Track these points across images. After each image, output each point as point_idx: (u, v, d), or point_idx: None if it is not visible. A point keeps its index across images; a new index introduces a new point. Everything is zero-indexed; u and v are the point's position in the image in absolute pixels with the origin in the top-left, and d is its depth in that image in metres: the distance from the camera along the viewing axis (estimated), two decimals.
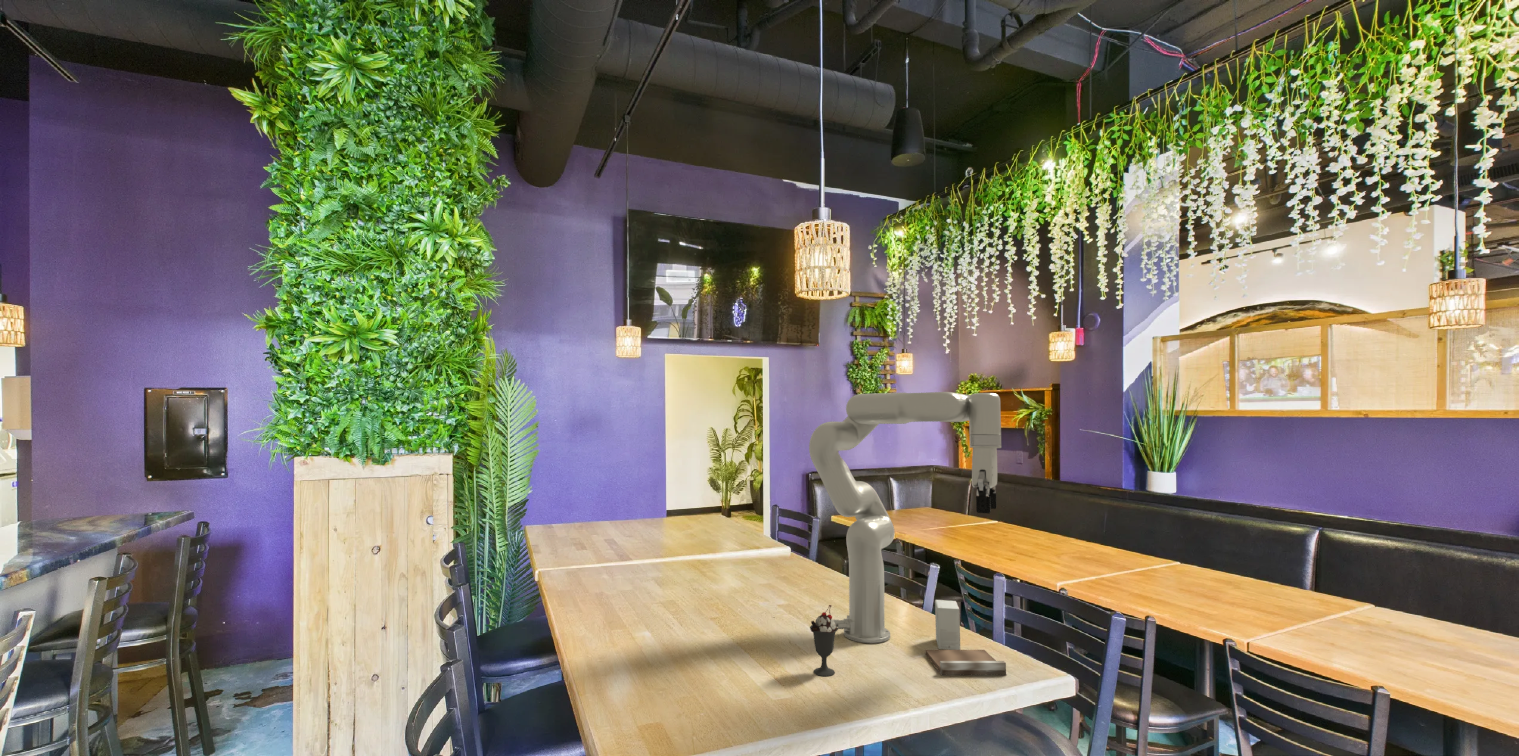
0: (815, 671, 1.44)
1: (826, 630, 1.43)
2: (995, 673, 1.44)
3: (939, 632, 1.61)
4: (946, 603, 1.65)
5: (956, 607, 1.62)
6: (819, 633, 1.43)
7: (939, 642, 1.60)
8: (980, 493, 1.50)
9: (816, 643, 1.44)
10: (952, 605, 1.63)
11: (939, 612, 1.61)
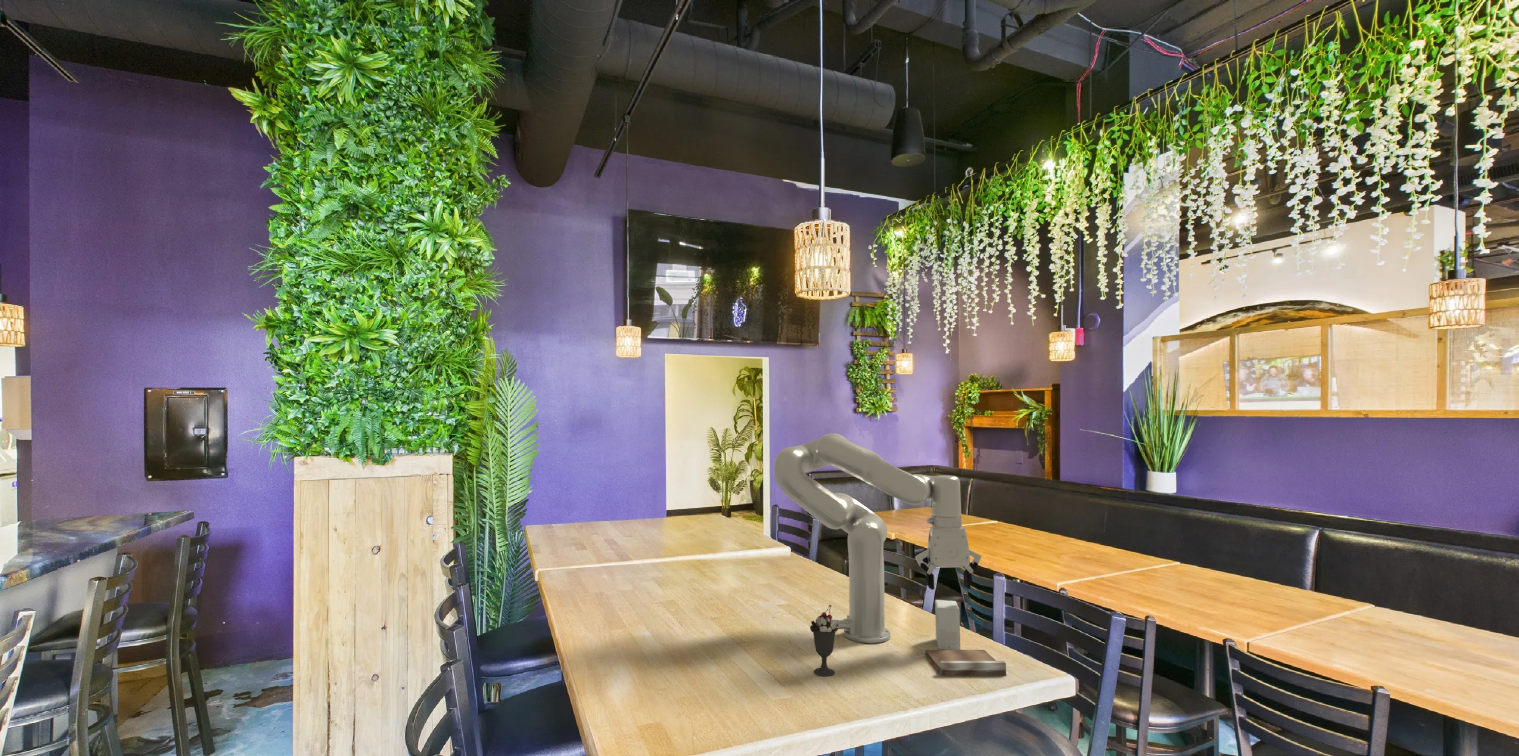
0: (815, 671, 1.44)
1: (826, 630, 1.43)
2: (995, 673, 1.44)
3: (939, 632, 1.61)
4: (946, 603, 1.65)
5: (956, 607, 1.62)
6: (819, 633, 1.43)
7: (939, 642, 1.60)
8: None
9: (816, 643, 1.44)
10: (952, 605, 1.63)
11: (939, 612, 1.61)
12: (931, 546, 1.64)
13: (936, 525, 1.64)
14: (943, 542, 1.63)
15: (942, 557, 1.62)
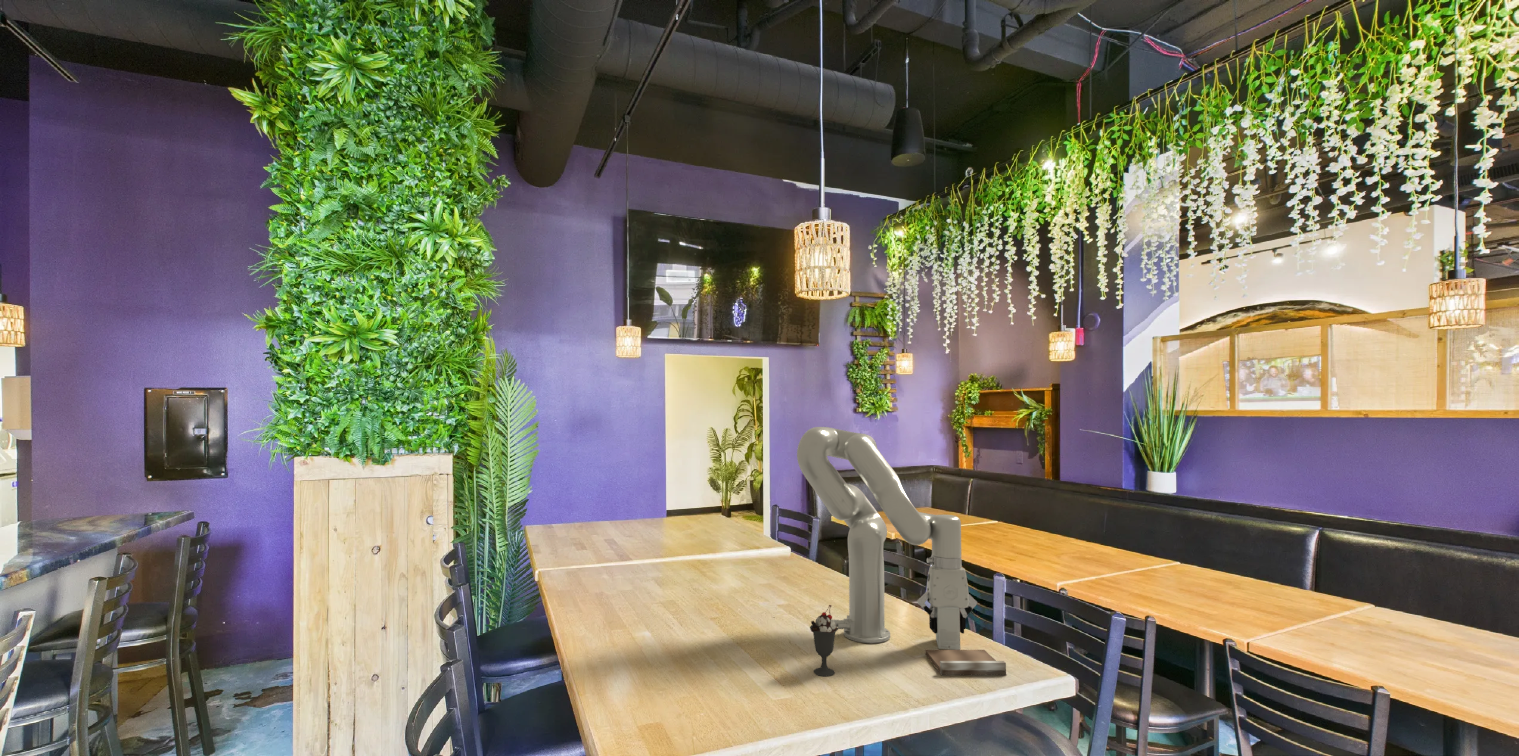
0: (815, 671, 1.44)
1: (826, 630, 1.43)
2: (995, 673, 1.44)
3: (939, 632, 1.61)
4: None
5: (956, 607, 1.62)
6: (819, 633, 1.43)
7: (939, 642, 1.60)
8: None
9: (816, 643, 1.44)
10: None
11: (939, 612, 1.61)
12: (930, 586, 1.63)
13: (936, 565, 1.63)
14: (942, 583, 1.62)
15: (941, 598, 1.62)
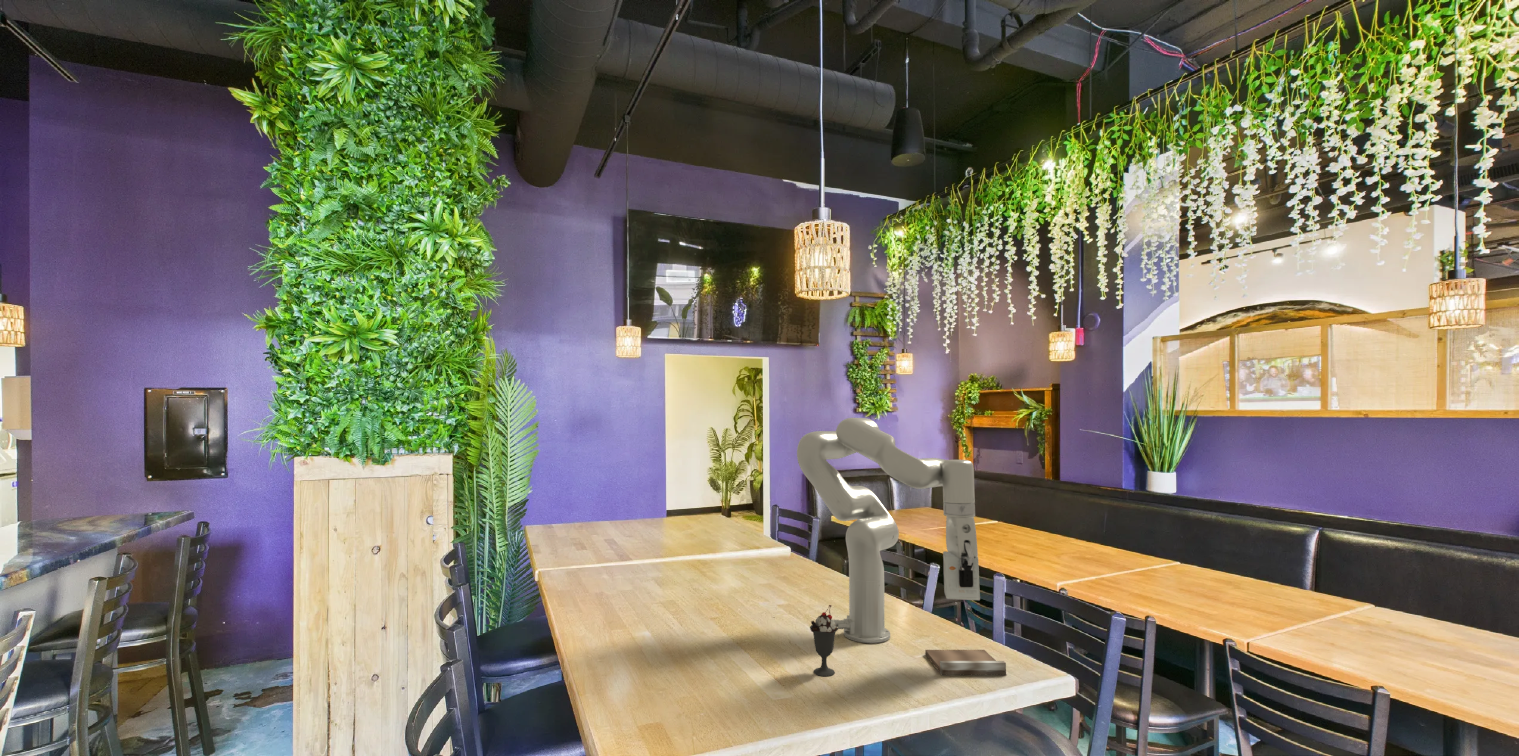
0: (815, 671, 1.44)
1: (826, 630, 1.43)
2: (995, 673, 1.44)
3: None
4: None
5: None
6: (819, 633, 1.43)
7: (979, 593, 1.50)
8: None
9: (816, 643, 1.44)
10: None
11: None
12: (973, 537, 1.50)
13: (970, 513, 1.52)
14: None
15: None
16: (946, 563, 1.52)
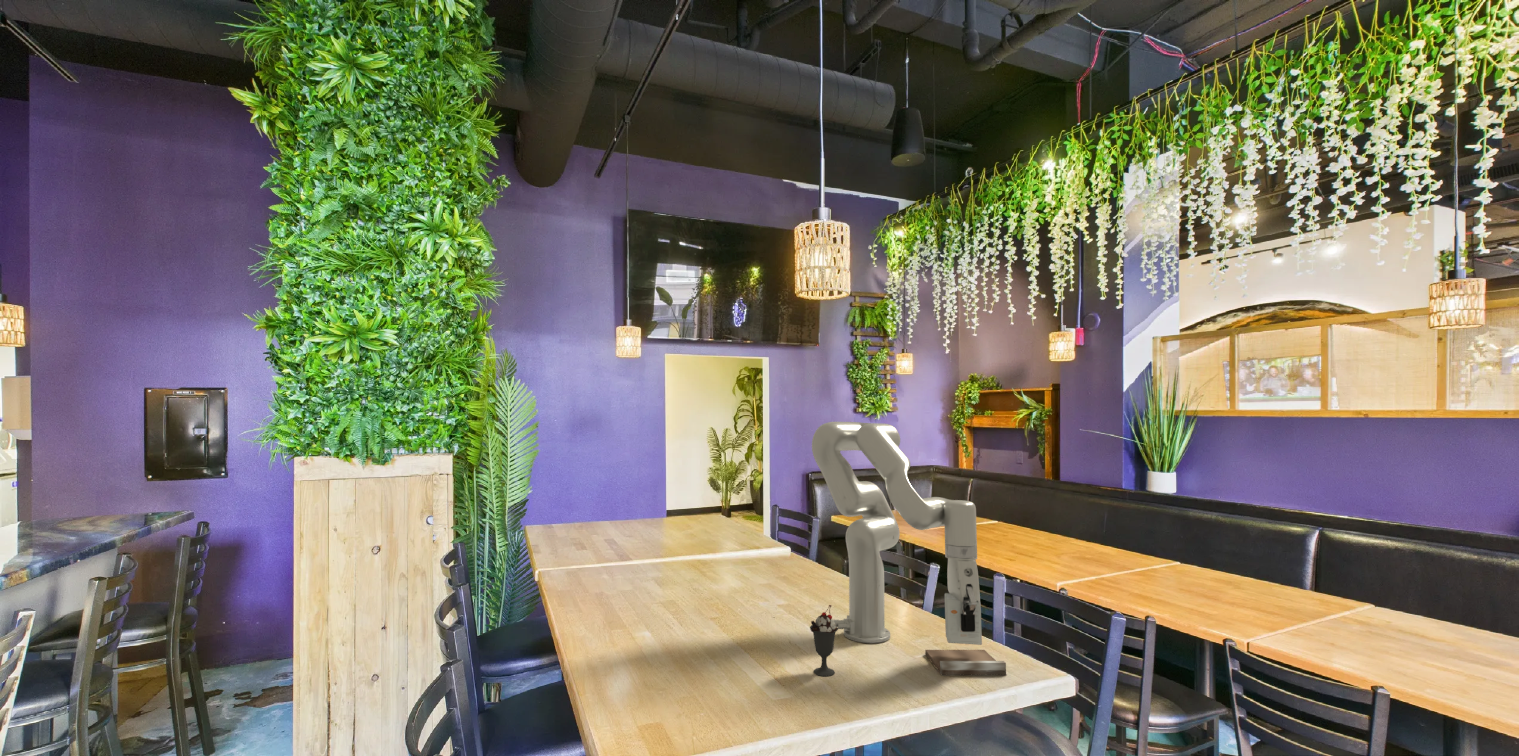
0: (815, 671, 1.44)
1: (826, 630, 1.43)
2: (995, 673, 1.44)
3: None
4: None
5: None
6: (819, 633, 1.43)
7: (981, 637, 1.49)
8: None
9: (816, 643, 1.44)
10: None
11: None
12: (976, 580, 1.48)
13: (972, 556, 1.50)
14: None
15: None
16: (948, 606, 1.50)
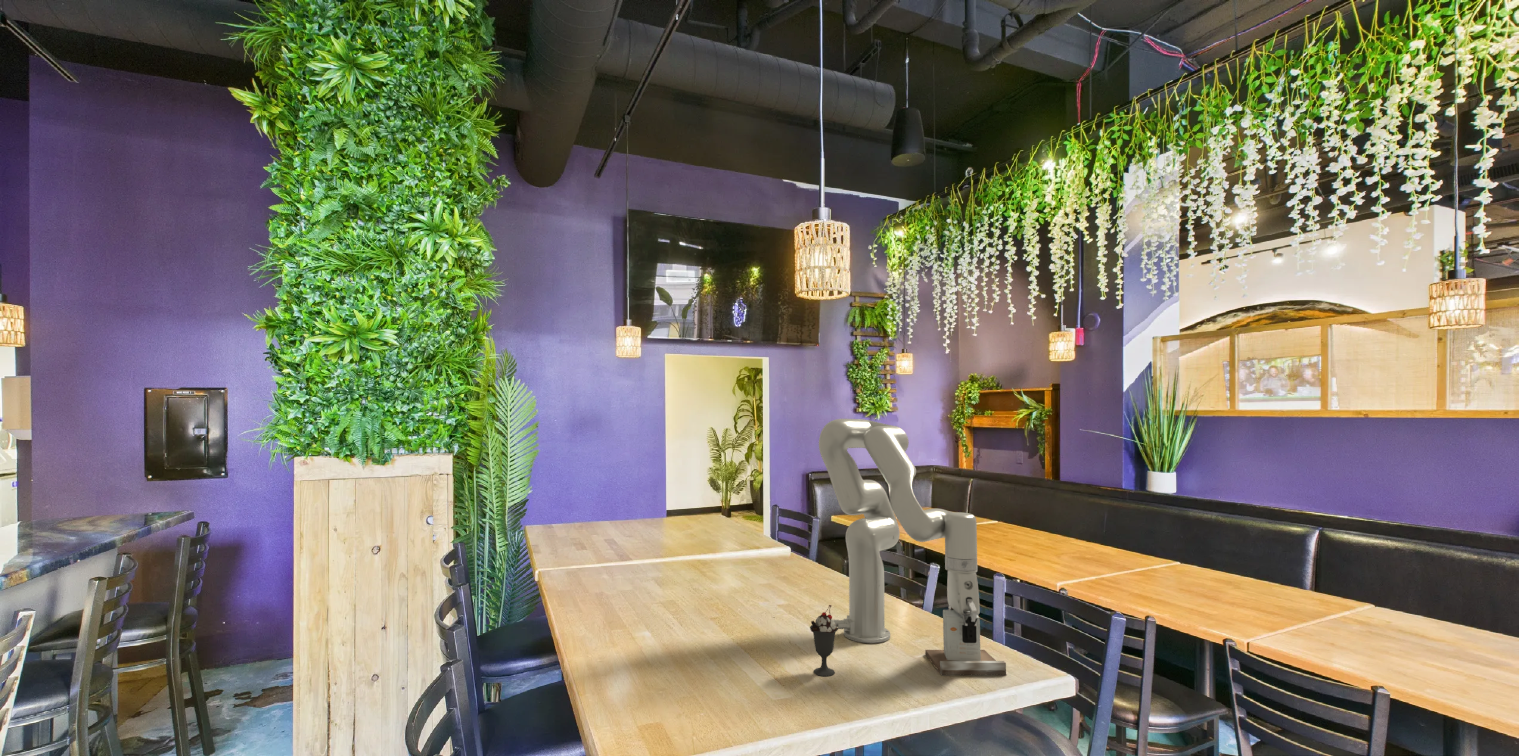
0: (815, 671, 1.44)
1: (826, 630, 1.43)
2: (995, 673, 1.44)
3: None
4: (958, 613, 1.52)
5: None
6: (819, 633, 1.43)
7: None
8: None
9: (816, 643, 1.44)
10: (964, 611, 1.53)
11: (979, 622, 1.49)
12: (976, 593, 1.48)
13: (972, 569, 1.50)
14: None
15: None
16: (947, 624, 1.50)
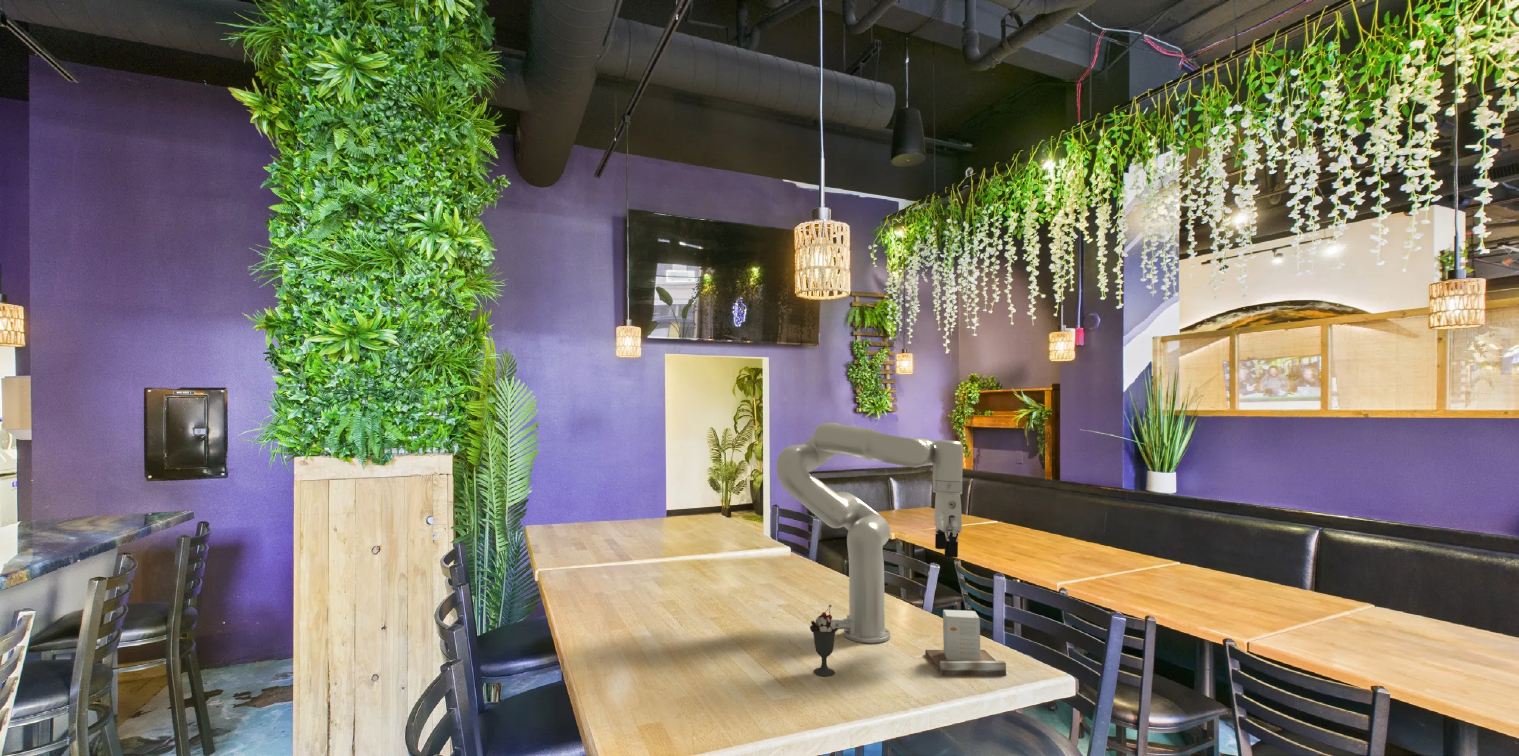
0: (815, 671, 1.44)
1: (826, 630, 1.43)
2: (995, 673, 1.44)
3: None
4: (958, 613, 1.52)
5: (970, 611, 1.54)
6: (819, 633, 1.43)
7: None
8: None
9: (816, 643, 1.44)
10: (964, 611, 1.53)
11: (979, 622, 1.49)
12: (958, 512, 1.59)
13: (957, 490, 1.61)
14: None
15: None
16: (947, 624, 1.50)
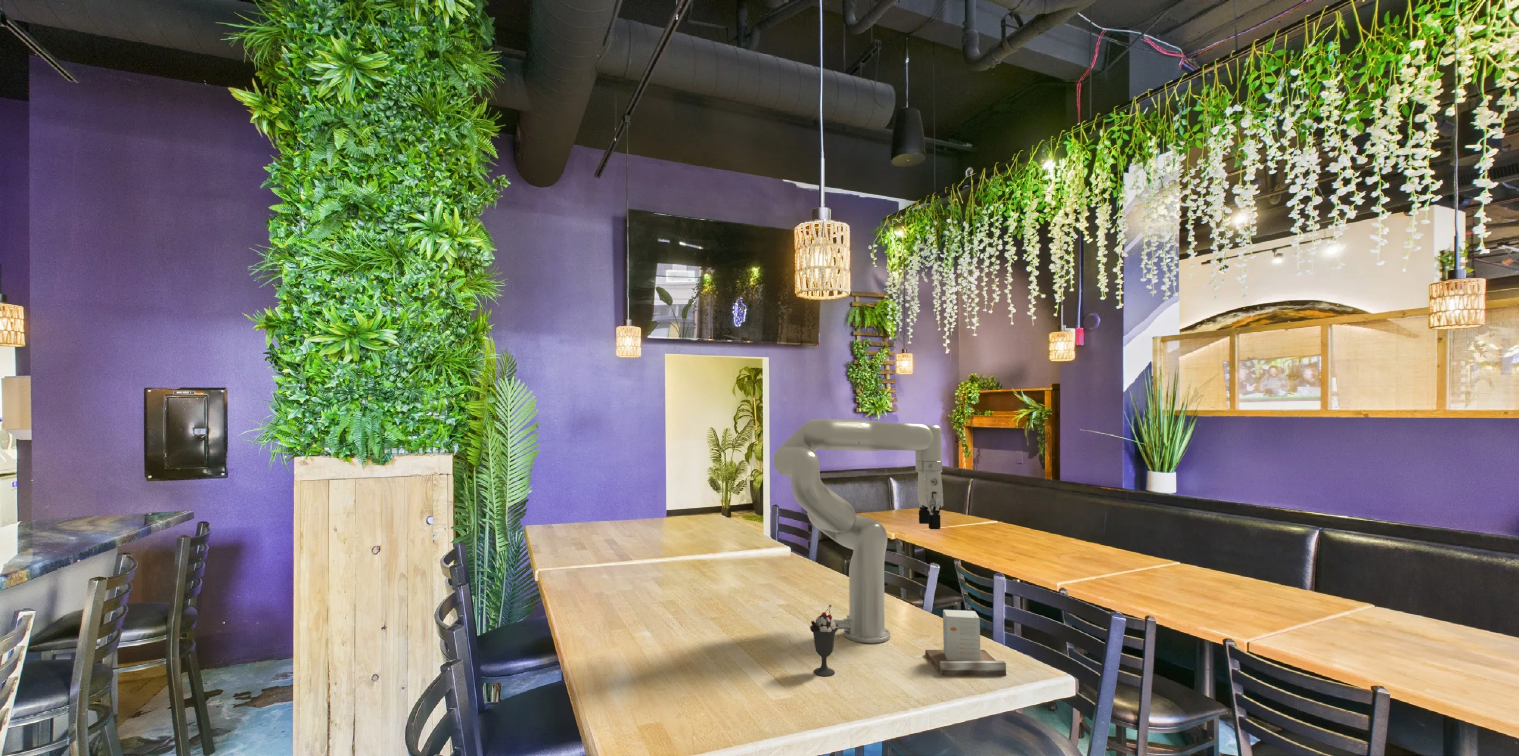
0: (815, 671, 1.44)
1: (826, 630, 1.43)
2: (995, 673, 1.44)
3: None
4: (958, 613, 1.52)
5: (970, 611, 1.54)
6: (819, 633, 1.43)
7: None
8: None
9: (816, 643, 1.44)
10: (964, 611, 1.53)
11: (979, 622, 1.49)
12: (940, 489, 1.77)
13: (938, 469, 1.79)
14: None
15: None
16: (947, 624, 1.50)
